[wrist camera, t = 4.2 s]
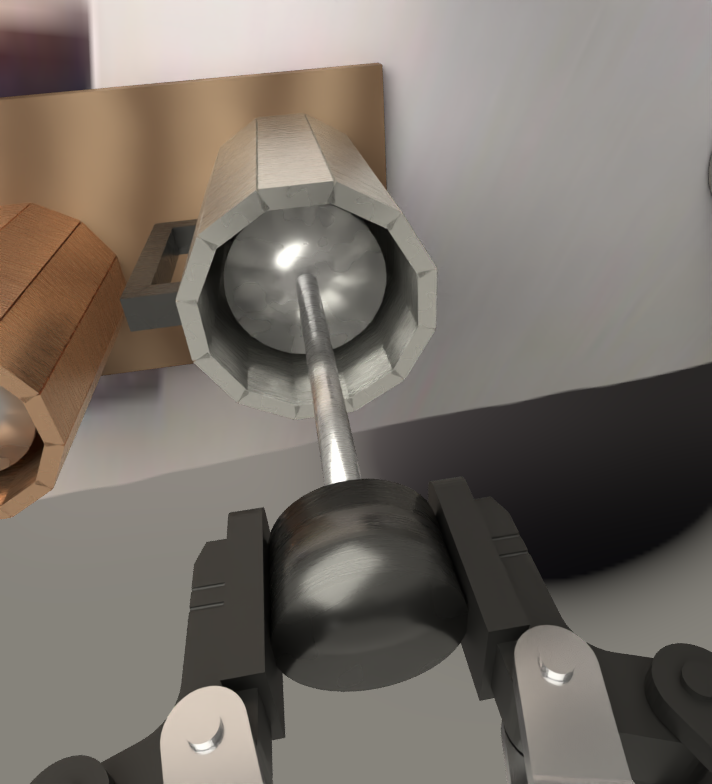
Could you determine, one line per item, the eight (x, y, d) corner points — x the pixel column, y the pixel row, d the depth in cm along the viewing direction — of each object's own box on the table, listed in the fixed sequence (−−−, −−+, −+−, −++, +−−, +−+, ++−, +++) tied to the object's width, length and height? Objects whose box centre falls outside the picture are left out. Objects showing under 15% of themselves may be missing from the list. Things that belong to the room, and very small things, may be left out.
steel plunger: (380, 188, 21) (578, 476, 8) (386, 336, 25) (528, 695, 12) (208, 207, 21) (127, 547, 8) (241, 356, 25) (224, 753, 12)
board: (378, 62, 29) (382, 64, 28) (388, 328, 39) (391, 336, 38) (-143, 111, 27) (-158, 114, 26) (0, 380, 36) (-7, 390, 35)
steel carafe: (367, 106, 29) (438, 169, 18) (376, 271, 35) (434, 400, 23) (142, 128, 28) (66, 210, 17) (186, 294, 34) (150, 440, 22)
